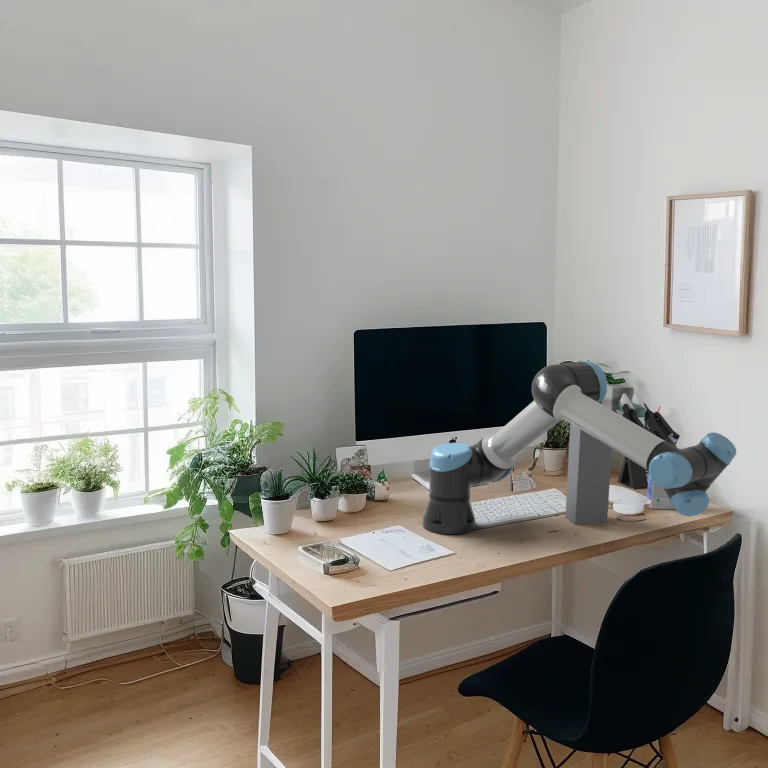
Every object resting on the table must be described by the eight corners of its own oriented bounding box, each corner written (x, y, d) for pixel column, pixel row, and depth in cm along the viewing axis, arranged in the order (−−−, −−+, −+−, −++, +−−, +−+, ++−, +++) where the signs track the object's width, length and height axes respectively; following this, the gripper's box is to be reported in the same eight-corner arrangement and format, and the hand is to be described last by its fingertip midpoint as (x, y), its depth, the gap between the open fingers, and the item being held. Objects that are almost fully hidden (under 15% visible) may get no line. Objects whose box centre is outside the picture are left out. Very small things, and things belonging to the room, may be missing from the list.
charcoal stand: (575, 524, 228) (581, 417, 223) (565, 516, 235) (571, 412, 230) (607, 522, 230) (613, 416, 225) (596, 515, 237) (602, 411, 232)
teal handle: (629, 417, 200) (630, 394, 199) (601, 405, 215) (602, 384, 214) (651, 417, 201) (652, 394, 200) (621, 405, 216) (622, 384, 215)
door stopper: (617, 482, 273) (619, 448, 271) (631, 480, 275) (633, 447, 273) (633, 489, 265) (635, 454, 263) (648, 487, 267) (650, 453, 265)
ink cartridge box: (676, 504, 249) (679, 460, 247) (682, 509, 243) (686, 464, 241) (645, 503, 249) (648, 459, 247) (650, 509, 244) (654, 464, 241)
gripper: (631, 472, 189) (596, 408, 207) (690, 470, 192) (651, 407, 210) (640, 449, 184) (604, 386, 202) (701, 447, 187) (660, 385, 205)
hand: (628, 397), depth 206 cm, fingers closed on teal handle, 2 cm apart
